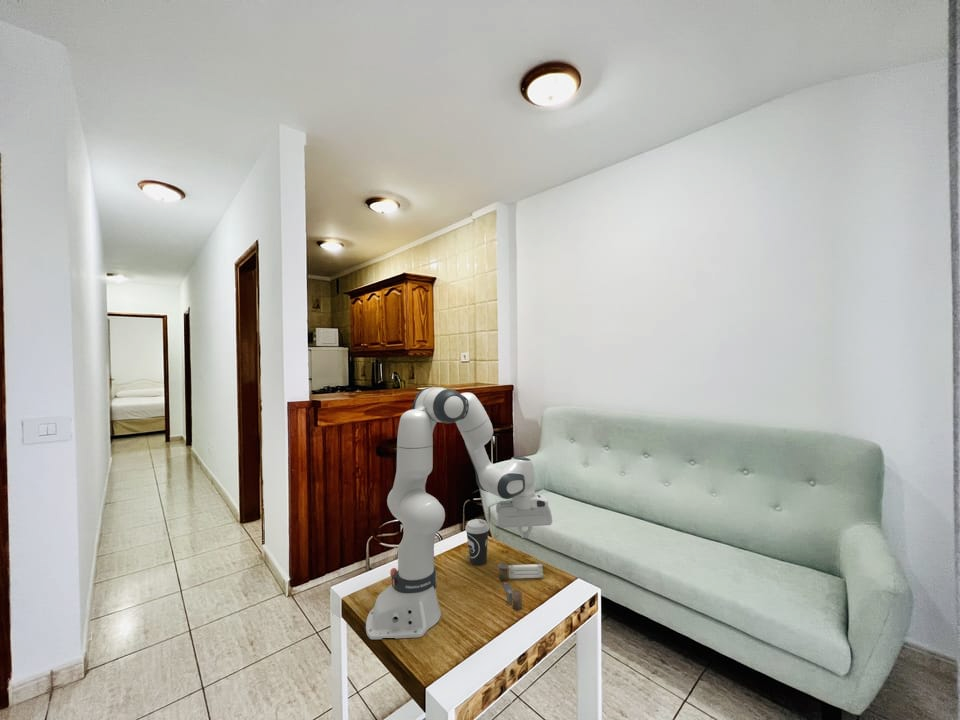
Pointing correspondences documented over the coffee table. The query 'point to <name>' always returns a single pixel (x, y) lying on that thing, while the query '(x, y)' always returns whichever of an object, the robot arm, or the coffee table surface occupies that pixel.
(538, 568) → the white long block
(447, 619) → the coffee table surface
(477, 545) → the coffee cup
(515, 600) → the brown rounded cylinder
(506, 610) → the coffee table surface
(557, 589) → the coffee table surface
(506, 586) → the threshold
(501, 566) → the hinge post
